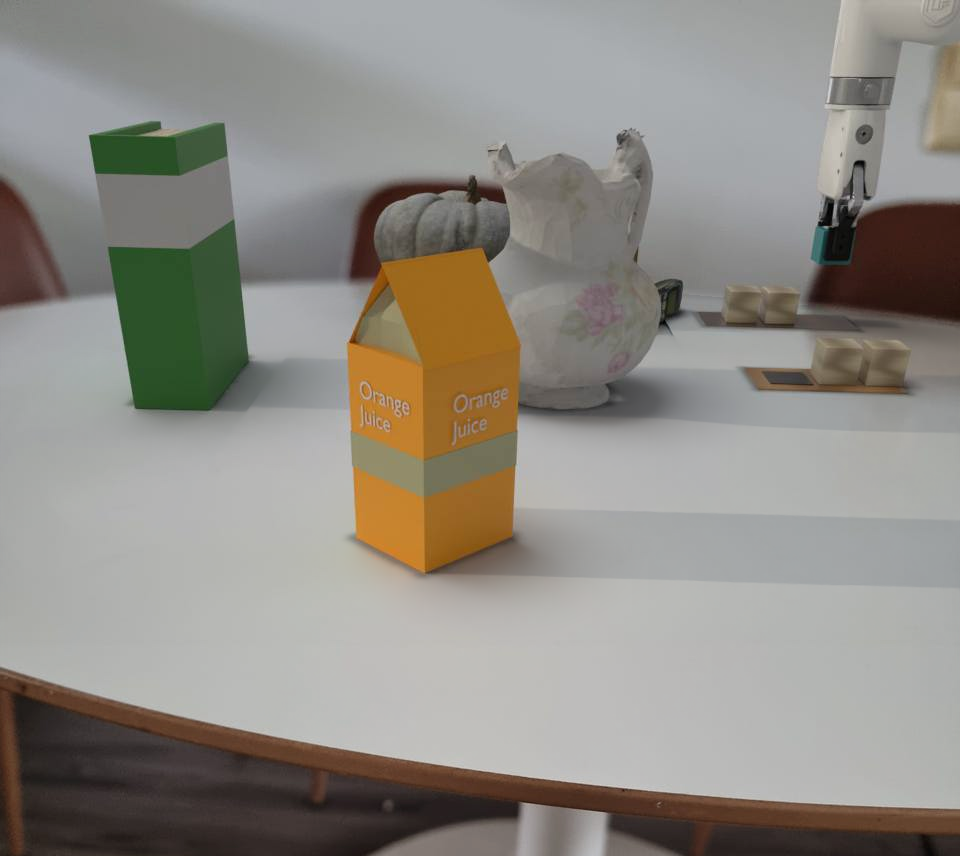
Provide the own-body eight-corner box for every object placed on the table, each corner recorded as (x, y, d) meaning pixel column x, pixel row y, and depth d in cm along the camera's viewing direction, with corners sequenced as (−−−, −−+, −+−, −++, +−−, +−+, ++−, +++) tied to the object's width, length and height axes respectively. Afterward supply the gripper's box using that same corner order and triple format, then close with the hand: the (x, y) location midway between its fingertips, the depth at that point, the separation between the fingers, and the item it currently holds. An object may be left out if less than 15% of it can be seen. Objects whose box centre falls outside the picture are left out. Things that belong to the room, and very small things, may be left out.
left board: (841, 320, 134) (848, 285, 132) (859, 334, 127) (867, 298, 125) (695, 316, 134) (700, 281, 132) (705, 330, 127) (710, 294, 125)
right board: (883, 376, 111) (892, 335, 109) (907, 398, 104) (918, 355, 102) (742, 372, 111) (749, 331, 109) (757, 393, 104) (765, 350, 102)
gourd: (355, 304, 124) (367, 154, 117) (380, 296, 147) (391, 170, 140) (549, 332, 124) (572, 184, 118) (544, 319, 147) (562, 195, 141)
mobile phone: (647, 296, 122) (691, 274, 133) (625, 293, 124) (671, 271, 134) (643, 336, 125) (687, 311, 136) (622, 332, 126) (667, 308, 137)
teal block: (840, 259, 128) (847, 225, 126) (850, 264, 124) (856, 230, 122) (810, 259, 128) (815, 225, 126) (818, 264, 124) (824, 230, 122)
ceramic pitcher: (535, 366, 115) (531, 129, 103) (693, 381, 106) (708, 123, 94) (436, 416, 100) (416, 143, 87) (611, 439, 90) (616, 138, 78)
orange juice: (354, 542, 71) (340, 253, 61) (443, 510, 77) (444, 239, 66) (425, 580, 67) (423, 273, 56) (515, 542, 72) (527, 256, 62)
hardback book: (184, 358, 111) (151, 121, 99) (248, 360, 111) (224, 122, 98) (134, 408, 96) (88, 135, 84) (209, 410, 96) (174, 137, 83)
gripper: (915, 97, 109) (880, 269, 119) (868, 93, 124) (841, 246, 133) (848, 97, 109) (818, 269, 119) (809, 93, 124) (785, 246, 133)
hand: (830, 255), depth 126 cm, fingers closed on teal block, 4 cm apart
